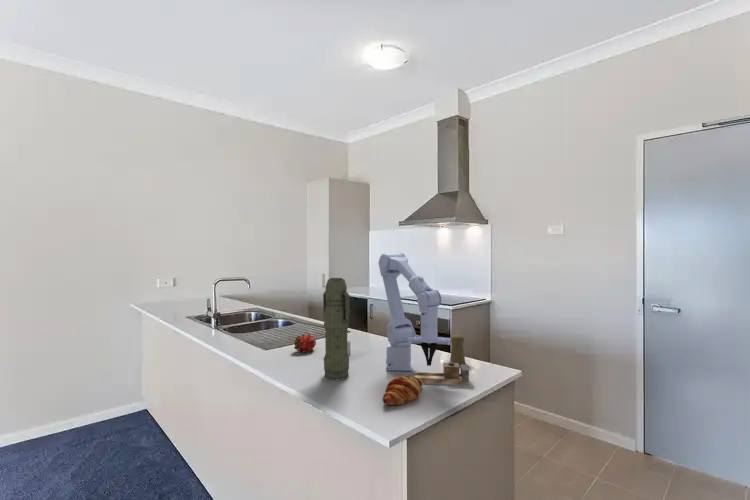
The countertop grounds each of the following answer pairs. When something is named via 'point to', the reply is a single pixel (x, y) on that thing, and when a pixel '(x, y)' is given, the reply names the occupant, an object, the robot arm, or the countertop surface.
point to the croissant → (402, 390)
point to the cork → (457, 349)
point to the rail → (439, 377)
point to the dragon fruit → (305, 343)
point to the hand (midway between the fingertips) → (428, 364)
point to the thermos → (336, 328)
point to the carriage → (451, 370)
